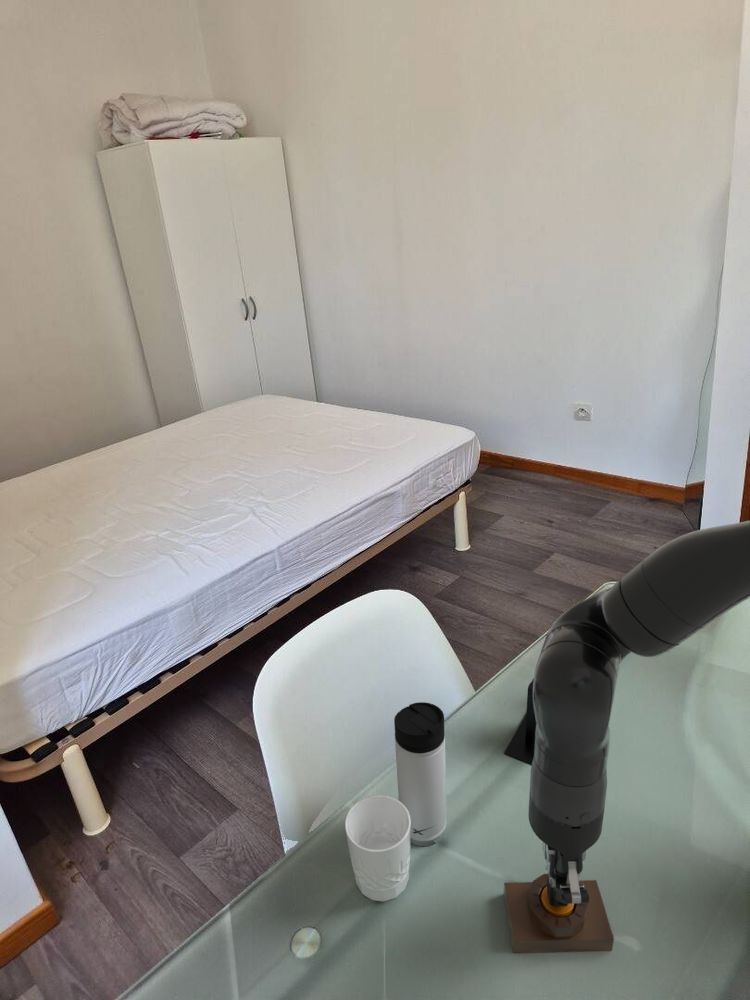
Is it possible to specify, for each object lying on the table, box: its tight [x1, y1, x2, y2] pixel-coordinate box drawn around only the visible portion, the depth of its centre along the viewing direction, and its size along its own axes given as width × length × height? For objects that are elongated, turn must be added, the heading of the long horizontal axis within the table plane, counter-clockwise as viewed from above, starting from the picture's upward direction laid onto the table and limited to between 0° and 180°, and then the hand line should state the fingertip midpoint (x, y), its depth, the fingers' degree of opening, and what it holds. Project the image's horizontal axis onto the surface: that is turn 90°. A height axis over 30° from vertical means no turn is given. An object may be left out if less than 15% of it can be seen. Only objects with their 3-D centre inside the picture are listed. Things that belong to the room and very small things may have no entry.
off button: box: [541, 886, 574, 918], centre depth 79 cm, size 4×4×2 cm
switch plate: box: [503, 873, 615, 954], centre depth 79 cm, size 11×7×4 cm, turn 89°
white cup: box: [344, 794, 411, 903], centre depth 84 cm, size 8×8×10 cm
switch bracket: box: [503, 677, 537, 766], centre depth 102 cm, size 11×9×12 cm
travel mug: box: [393, 701, 448, 847], centre depth 88 cm, size 6×7×20 cm
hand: (557, 899), depth 78 cm, fingers closed
